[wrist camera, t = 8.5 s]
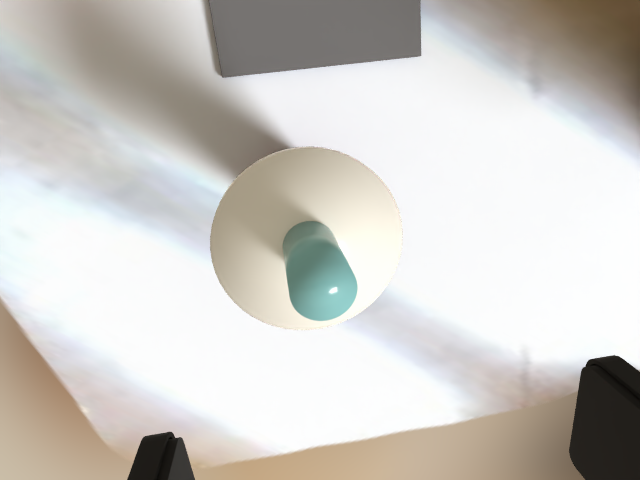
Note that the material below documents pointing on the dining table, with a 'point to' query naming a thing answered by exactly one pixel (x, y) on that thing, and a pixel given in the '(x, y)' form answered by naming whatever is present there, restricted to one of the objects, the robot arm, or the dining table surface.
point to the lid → (306, 238)
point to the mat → (312, 33)
